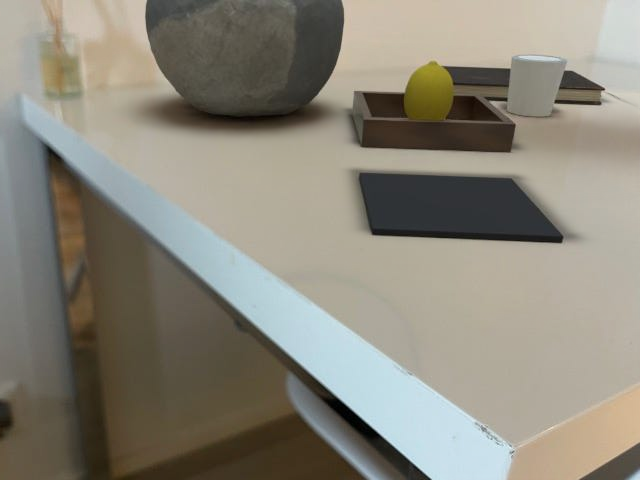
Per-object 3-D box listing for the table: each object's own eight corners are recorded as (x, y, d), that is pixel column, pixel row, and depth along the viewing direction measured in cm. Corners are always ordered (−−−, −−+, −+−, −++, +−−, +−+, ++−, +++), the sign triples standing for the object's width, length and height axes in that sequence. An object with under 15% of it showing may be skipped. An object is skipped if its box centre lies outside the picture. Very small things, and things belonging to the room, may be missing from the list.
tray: (476, 118, 85) (480, 94, 84) (510, 152, 71) (516, 124, 70) (352, 114, 86) (354, 90, 85) (361, 146, 72) (363, 119, 71)
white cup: (499, 105, 93) (508, 52, 90) (550, 108, 92) (562, 55, 88) (505, 115, 87) (515, 60, 84) (560, 119, 86) (573, 62, 82)
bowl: (157, 137, 74) (150, -10, 67) (144, 94, 95) (138, -21, 88) (365, 130, 79) (378, -8, 72) (309, 90, 100) (315, -19, 93)
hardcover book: (601, 104, 94) (605, 88, 93) (436, 98, 97) (438, 81, 96) (568, 84, 108) (571, 70, 107) (425, 79, 111) (427, 64, 110)
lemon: (455, 136, 77) (467, 64, 73) (410, 137, 76) (419, 65, 72) (436, 125, 81) (446, 57, 78) (393, 126, 81) (401, 57, 77)
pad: (510, 183, 61) (511, 177, 61) (562, 242, 49) (564, 236, 49) (359, 177, 62) (359, 172, 62) (372, 234, 50) (372, 228, 50)
